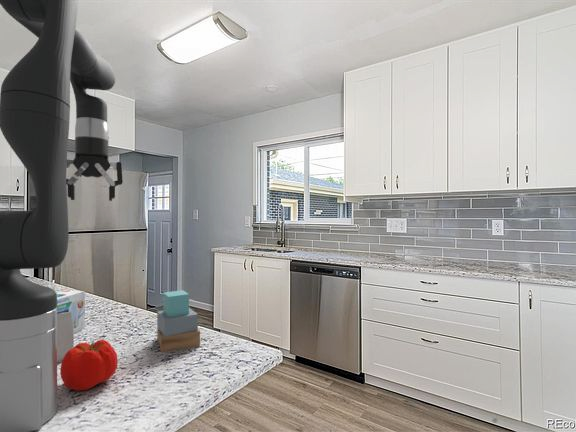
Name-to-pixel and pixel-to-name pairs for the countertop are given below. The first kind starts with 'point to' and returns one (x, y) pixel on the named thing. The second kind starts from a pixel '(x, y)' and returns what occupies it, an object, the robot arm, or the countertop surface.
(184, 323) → the top block
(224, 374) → the countertop surface
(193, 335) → the base block
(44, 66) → the robot arm
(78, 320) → the light bulb box
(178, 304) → the teal cube
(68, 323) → the white cardboard box
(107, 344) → the tomato
